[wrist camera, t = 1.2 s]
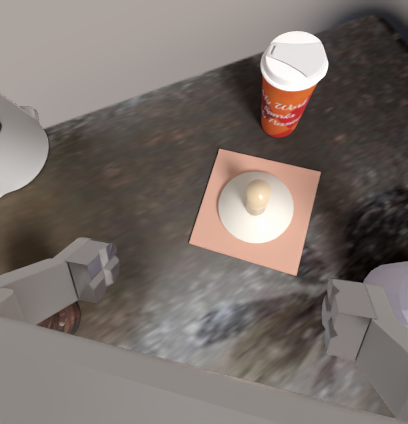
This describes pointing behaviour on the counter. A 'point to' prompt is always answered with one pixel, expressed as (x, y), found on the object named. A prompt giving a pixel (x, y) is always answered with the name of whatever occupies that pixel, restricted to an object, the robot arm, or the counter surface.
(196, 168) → the counter surface
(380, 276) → the soap bottle
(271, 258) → the mat
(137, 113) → the counter surface
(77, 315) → the mortar and pestle
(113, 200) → the counter surface
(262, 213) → the lid
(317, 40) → the paper cup
